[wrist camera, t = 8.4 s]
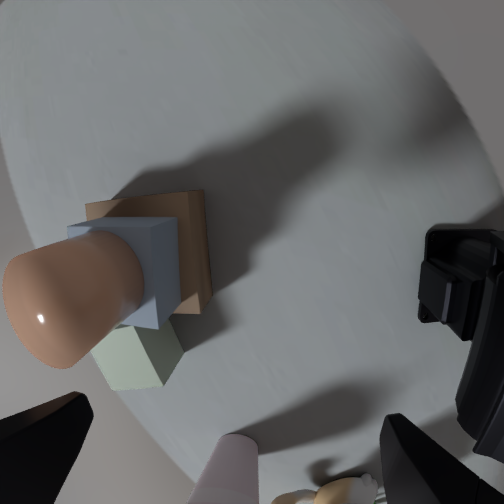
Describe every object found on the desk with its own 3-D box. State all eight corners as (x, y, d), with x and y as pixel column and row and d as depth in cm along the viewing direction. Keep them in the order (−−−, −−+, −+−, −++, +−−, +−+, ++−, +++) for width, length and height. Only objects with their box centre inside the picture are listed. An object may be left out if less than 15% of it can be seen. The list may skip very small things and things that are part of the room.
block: (161, 298, 21) (133, 325, 17) (184, 352, 22) (163, 386, 18) (114, 311, 22) (83, 336, 18) (137, 359, 23) (112, 390, 19)
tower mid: (177, 217, 16) (150, 227, 13) (181, 302, 18) (158, 329, 14) (102, 217, 17) (67, 226, 14) (110, 295, 18) (79, 316, 15)
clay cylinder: (135, 226, 13) (63, 250, 8) (152, 320, 14) (98, 377, 9) (64, 234, 14) (-8, 257, 9) (81, 317, 15) (23, 359, 10)
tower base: (205, 189, 19) (187, 191, 16) (214, 293, 21) (200, 313, 18) (113, 199, 20) (85, 204, 17) (126, 292, 22) (102, 309, 19)
